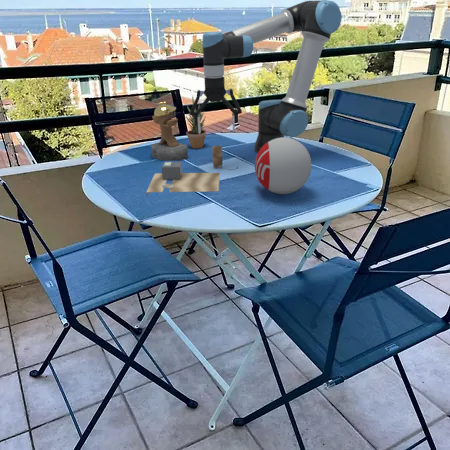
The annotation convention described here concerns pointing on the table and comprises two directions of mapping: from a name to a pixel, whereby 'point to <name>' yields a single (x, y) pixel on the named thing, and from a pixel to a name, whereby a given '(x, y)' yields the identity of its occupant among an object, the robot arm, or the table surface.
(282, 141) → the decorative sphere
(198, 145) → the potted plant
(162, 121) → the figurine
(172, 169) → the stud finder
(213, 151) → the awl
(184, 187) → the board
